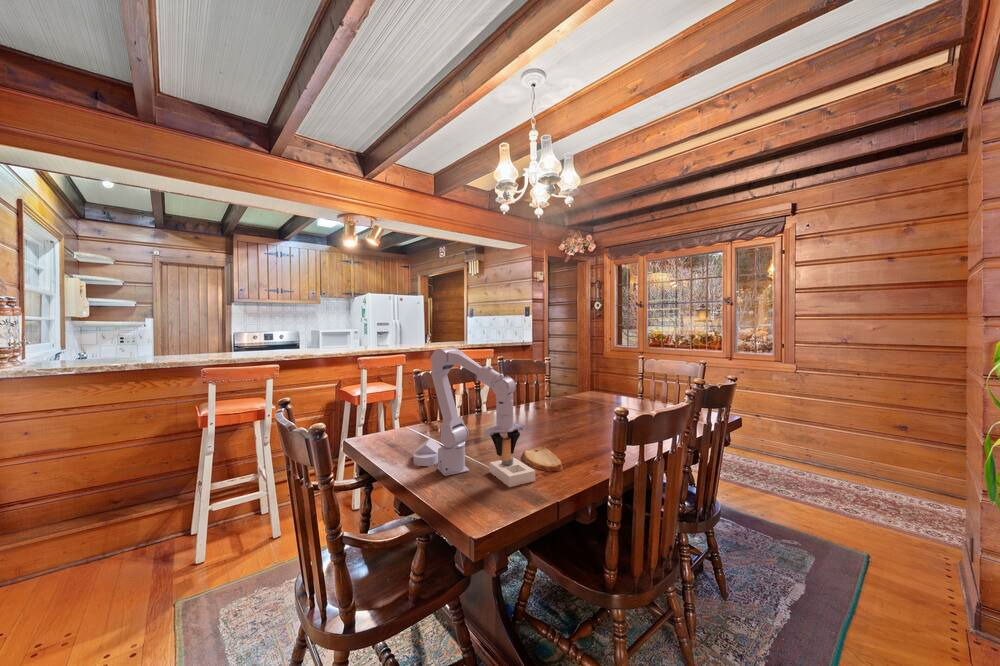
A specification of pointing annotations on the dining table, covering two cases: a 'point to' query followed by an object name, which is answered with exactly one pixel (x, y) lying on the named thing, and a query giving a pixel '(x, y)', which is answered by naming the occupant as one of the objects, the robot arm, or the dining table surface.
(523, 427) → the robot arm
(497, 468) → the cream block with recess
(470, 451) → the dining table surface
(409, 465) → the dining table surface
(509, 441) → the orange tapered cylinder
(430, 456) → the wedge on round base
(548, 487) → the dining table surface
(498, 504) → the dining table surface
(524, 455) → the bread slice
